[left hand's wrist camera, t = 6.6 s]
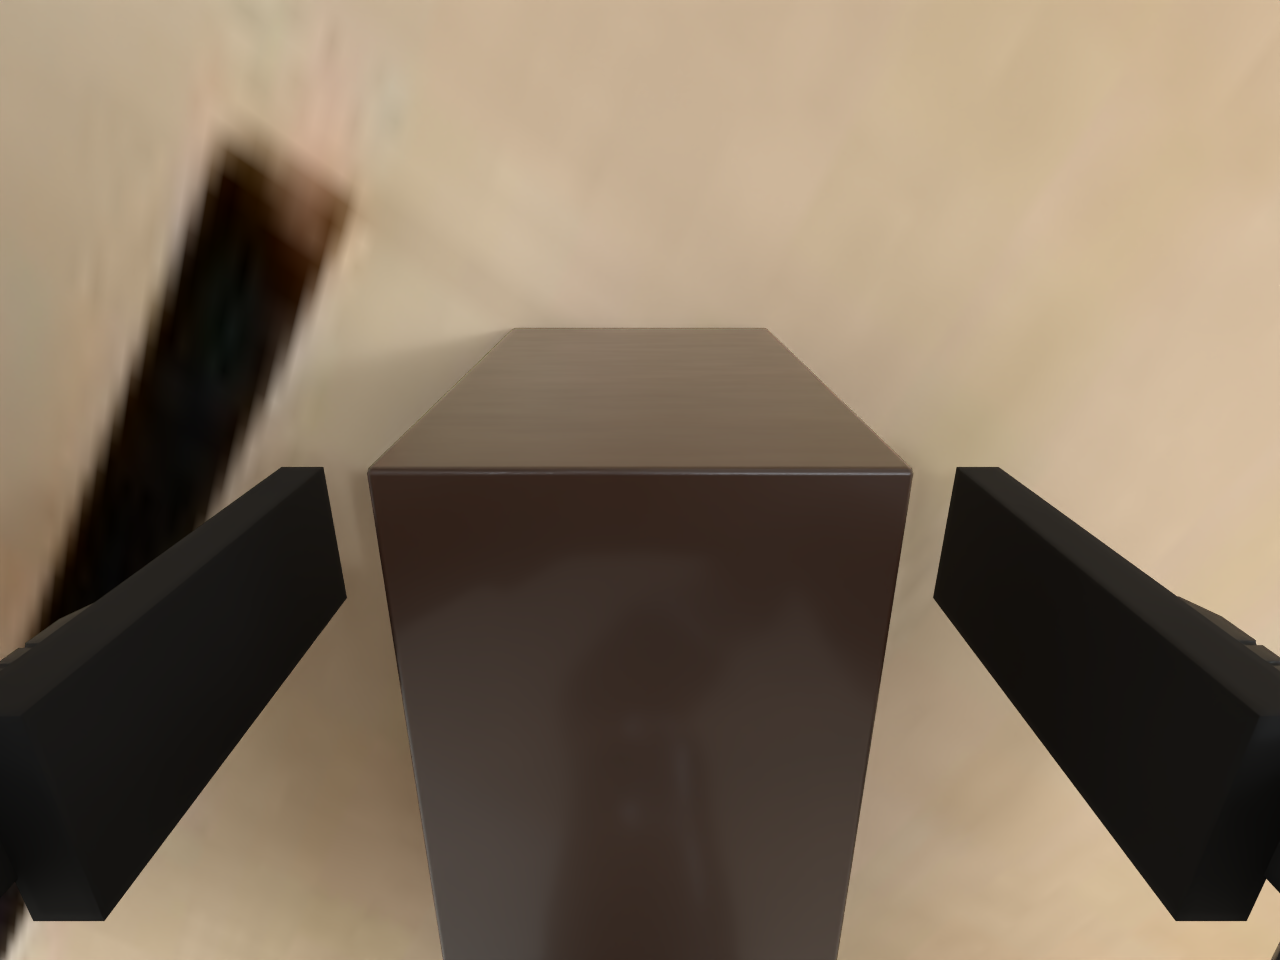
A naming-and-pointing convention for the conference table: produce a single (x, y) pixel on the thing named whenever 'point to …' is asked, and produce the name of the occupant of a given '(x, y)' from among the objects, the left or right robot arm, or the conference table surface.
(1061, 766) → the left robot arm
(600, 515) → the brown metal block
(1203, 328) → the conference table surface
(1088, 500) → the conference table surface
